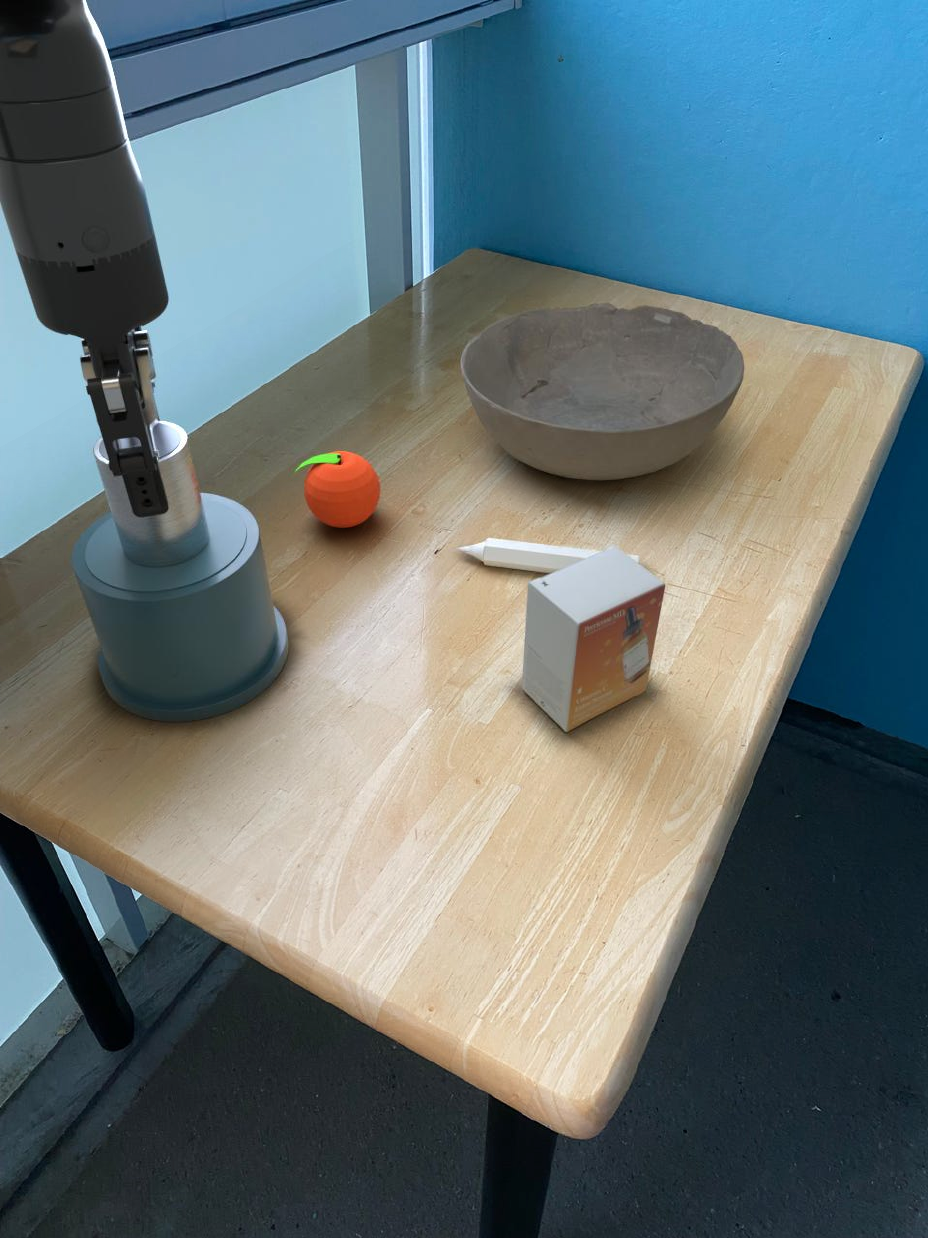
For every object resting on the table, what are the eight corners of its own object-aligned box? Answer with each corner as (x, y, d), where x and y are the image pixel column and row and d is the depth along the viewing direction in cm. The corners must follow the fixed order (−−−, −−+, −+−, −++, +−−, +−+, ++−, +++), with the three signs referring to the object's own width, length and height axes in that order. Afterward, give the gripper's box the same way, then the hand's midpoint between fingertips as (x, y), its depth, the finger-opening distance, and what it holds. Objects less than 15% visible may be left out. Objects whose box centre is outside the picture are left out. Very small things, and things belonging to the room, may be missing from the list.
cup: (123, 573, 63) (91, 472, 58) (123, 524, 68) (93, 426, 62) (212, 559, 65) (189, 458, 59) (206, 511, 69) (184, 414, 64)
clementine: (291, 542, 85) (281, 476, 80) (302, 500, 90) (293, 434, 85) (379, 543, 85) (374, 476, 80) (385, 500, 90) (380, 434, 85)
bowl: (755, 412, 102) (774, 325, 96) (679, 547, 84) (697, 450, 77) (527, 362, 112) (530, 279, 105) (413, 472, 93) (409, 381, 87)
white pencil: (455, 562, 84) (635, 582, 81) (451, 565, 81) (635, 585, 79) (458, 533, 83) (639, 552, 80) (453, 535, 81) (639, 554, 78)
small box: (565, 735, 67) (576, 626, 60) (519, 689, 70) (524, 580, 64) (649, 691, 70) (668, 582, 63) (601, 649, 74) (615, 541, 67)
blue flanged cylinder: (100, 739, 67) (55, 623, 60) (103, 613, 77) (65, 501, 70) (300, 700, 70) (280, 585, 62) (277, 583, 80) (257, 473, 73)
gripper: (22, 198, 57) (95, 434, 67) (0, 286, 46) (90, 548, 57) (149, 187, 58) (201, 419, 69) (156, 269, 48) (215, 528, 58)
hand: (150, 477), depth 63 cm, fingers open, 8 cm apart
